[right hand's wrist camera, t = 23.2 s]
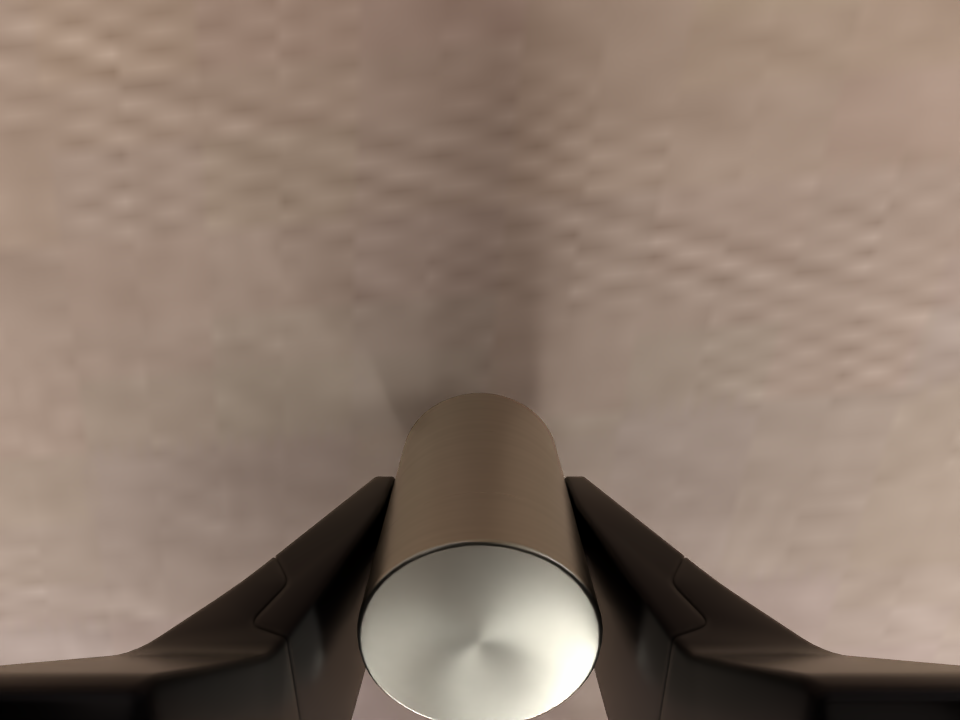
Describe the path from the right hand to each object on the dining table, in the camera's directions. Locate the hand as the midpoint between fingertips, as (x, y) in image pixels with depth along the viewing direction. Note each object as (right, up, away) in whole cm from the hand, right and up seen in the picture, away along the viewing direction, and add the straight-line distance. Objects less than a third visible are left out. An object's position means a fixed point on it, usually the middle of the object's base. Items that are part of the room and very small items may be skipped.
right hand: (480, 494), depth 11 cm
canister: (0, +1, +1) cm, 1 cm away
